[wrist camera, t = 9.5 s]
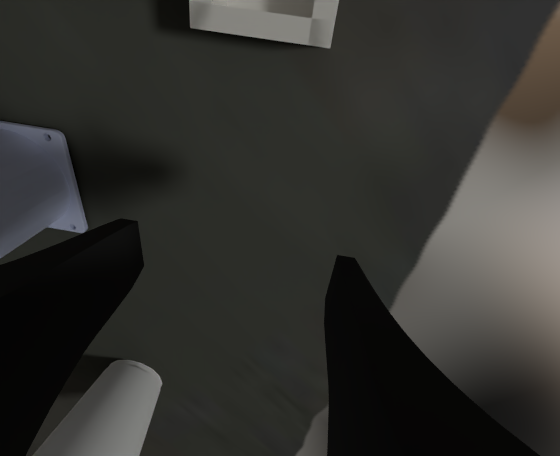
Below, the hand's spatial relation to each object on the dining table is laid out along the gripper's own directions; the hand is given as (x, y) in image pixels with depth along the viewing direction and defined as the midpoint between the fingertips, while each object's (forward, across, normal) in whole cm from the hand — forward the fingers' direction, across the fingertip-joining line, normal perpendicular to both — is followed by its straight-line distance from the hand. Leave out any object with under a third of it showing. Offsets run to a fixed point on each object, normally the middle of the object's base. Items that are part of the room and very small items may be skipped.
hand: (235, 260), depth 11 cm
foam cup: (+11, +13, +28) cm, 33 cm away
